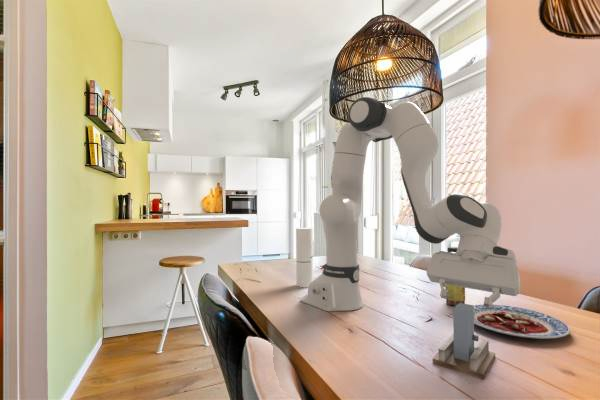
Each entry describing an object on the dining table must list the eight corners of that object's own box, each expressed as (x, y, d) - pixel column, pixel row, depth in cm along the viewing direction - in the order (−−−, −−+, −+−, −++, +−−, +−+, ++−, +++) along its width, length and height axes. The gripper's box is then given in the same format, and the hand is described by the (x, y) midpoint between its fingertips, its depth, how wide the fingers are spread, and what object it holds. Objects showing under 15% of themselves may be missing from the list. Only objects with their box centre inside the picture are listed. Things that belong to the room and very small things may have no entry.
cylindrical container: (315, 284, 138) (315, 228, 138) (307, 288, 132) (307, 229, 132) (302, 282, 142) (301, 227, 142) (293, 286, 136) (292, 228, 136)
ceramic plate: (532, 354, 74) (532, 341, 74) (443, 318, 98) (443, 308, 98) (591, 335, 84) (591, 324, 84) (498, 306, 108) (497, 298, 108)
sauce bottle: (467, 307, 107) (467, 249, 107) (448, 306, 108) (447, 248, 108) (462, 301, 113) (461, 246, 113) (443, 300, 114) (442, 246, 115)
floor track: (432, 362, 70) (432, 347, 70) (449, 344, 79) (448, 330, 79) (483, 379, 63) (483, 361, 63) (495, 357, 72) (494, 341, 72)
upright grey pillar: (453, 357, 70) (453, 308, 70) (460, 349, 74) (459, 302, 74) (473, 363, 68) (473, 312, 68) (479, 354, 71) (478, 306, 72)
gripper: (431, 243, 86) (417, 285, 79) (521, 251, 73) (514, 304, 65) (436, 257, 90) (423, 299, 82) (524, 268, 76) (517, 319, 69)
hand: (464, 301), depth 74 cm, fingers open, 8 cm apart
